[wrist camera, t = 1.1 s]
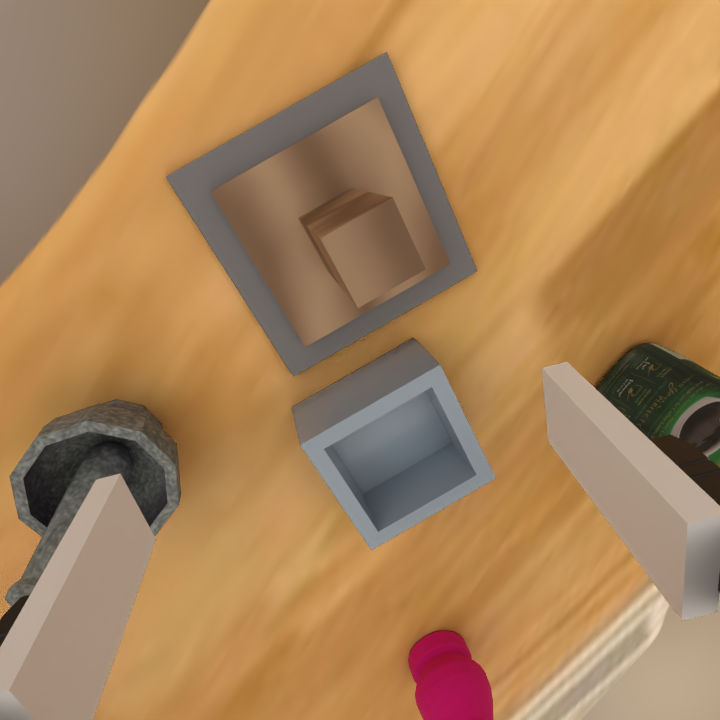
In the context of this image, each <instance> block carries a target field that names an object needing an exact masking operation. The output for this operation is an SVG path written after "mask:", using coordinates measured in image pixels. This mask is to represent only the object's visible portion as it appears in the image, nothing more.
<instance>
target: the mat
mask: <svg viewBox="0 0 720 720" xmlns="http://www.w3.org/2000/svg"><path fill="white" fill-rule="evenodd" d="M377 97H378V99H379V101H380V103H381V106H382V108H383V110H384V112H385V115H386V117H387V119H388V122H389V124H390V126H391V129H392V131H393V133H394V135H395V138H396V140H397V142H398V145H399V147H400V149H401V152H402V154H403V156H404V158H405V161H406V163H407V165H408V168H409V170H410V172H411V174H412V177H413V179H414V181H415V184H416V186H417V188H418V191H419V193H420V195H421V197H422V200H423V202H424V204H425V207H426V209H427V211H428V214H429V216H430V218H431V220H432V223H433V225H434V227H435V230H436V232H437V234H438V236H439V239H440V241H441V243H442V246H443V248H444V250H445V253H446V255H447V257H448V259H449V262H450V265H448V266H446V267H445V268H443V269H441V270H439V271H438V272H436V273H434V274H432V275H431V276H429V277H427V278H425V279H424V280H422V281H420V282H418V283H417V284H415V285H413V286H411V287H410V288H408V289H406V290H404V291H403V292H401V293H399V294H397V295H396V296H394V297H392V298H390V299H389V300H387V301H385V302H383V303H382V304H380V305H378V306H376V307H375V308H373V309H371V310H369V311H368V312H366V313H364V314H362V315H361V316H359V317H357V318H355V319H354V320H352V321H350V322H348V323H347V324H345V325H343V326H341V327H340V328H338V329H336V330H334V331H333V332H331V333H329V334H327V335H326V336H324V337H322V338H320V339H319V340H317V341H315V342H313V343H312V344H310V345H308V346H306V347H305V346H304V344H303V342H302V341H301V339H300V338H299V336H298V334H297V333H296V331H295V329H294V328H293V326H292V324H291V323H290V321H289V319H288V318H287V316H286V315H285V313H284V311H283V310H282V308H281V306H280V305H279V303H278V301H277V300H276V298H275V296H274V295H273V293H272V292H271V290H270V288H269V287H268V285H267V283H266V282H265V280H264V278H263V277H262V275H261V274H260V272H259V270H258V269H257V267H256V265H255V264H254V262H253V260H252V259H251V257H250V255H249V254H248V252H247V251H246V249H245V247H244V246H243V244H242V242H241V241H240V239H239V237H238V236H237V234H236V233H235V231H234V229H233V228H232V226H231V224H230V223H229V221H228V219H227V218H226V216H225V214H224V213H223V211H222V210H221V208H220V206H219V205H218V203H217V201H216V200H215V198H214V196H213V195H212V193H211V191H212V190H213V189H215V188H217V187H219V186H220V185H222V184H224V183H226V182H228V181H229V180H231V179H233V178H235V177H236V176H238V175H240V174H242V173H243V172H245V171H247V170H249V169H251V168H252V167H254V166H256V165H258V164H259V163H261V162H263V161H265V160H267V159H268V158H270V157H272V156H274V155H275V154H277V153H279V152H281V151H282V150H284V149H286V148H288V147H290V146H291V145H293V144H295V143H297V142H298V141H300V140H302V139H304V138H305V137H307V136H309V135H311V134H313V133H314V132H316V131H318V130H320V129H321V128H323V127H325V126H327V125H328V124H330V123H332V122H334V121H336V120H337V119H339V118H341V117H343V116H344V115H346V114H348V113H350V112H352V111H353V110H355V109H357V108H359V107H360V106H362V105H364V104H366V103H367V102H369V101H371V100H373V99H375V98H377ZM166 178H167V180H168V181H169V183H170V184H171V186H172V188H173V189H174V191H175V192H176V194H177V195H178V197H179V198H180V200H181V202H182V203H183V205H184V206H185V208H186V209H187V211H188V213H189V214H190V216H191V217H192V219H193V220H194V222H195V224H196V225H197V227H198V228H199V230H200V231H201V233H202V234H203V236H204V238H205V239H206V241H207V242H208V244H209V245H210V247H211V249H212V250H213V252H214V253H215V255H216V256H217V258H218V259H219V261H220V263H221V264H222V266H223V267H224V269H225V270H226V272H227V274H228V275H229V277H230V278H231V280H232V281H233V283H234V285H235V286H236V288H237V289H238V291H239V292H240V294H241V295H242V297H243V299H244V300H245V302H246V303H247V305H248V306H249V308H250V310H251V311H252V313H253V314H254V316H255V317H256V319H257V320H258V322H259V324H260V325H261V327H262V328H263V330H264V331H265V333H266V335H267V336H268V338H269V339H270V341H271V342H272V344H273V346H274V347H275V349H276V350H277V352H278V353H279V355H280V356H281V358H282V360H283V361H284V363H285V364H286V366H287V367H288V369H289V371H290V372H291V374H292V375H293V377H294V376H295V375H297V374H299V373H301V372H302V371H304V370H306V369H308V368H309V367H311V366H313V365H315V364H316V363H318V362H320V361H322V360H323V359H325V358H327V357H329V356H330V355H332V354H334V353H336V352H337V351H339V350H341V349H343V348H344V347H346V346H348V345H350V344H351V343H353V342H355V341H357V340H358V339H360V338H362V337H364V336H365V335H367V334H369V333H371V332H372V331H374V330H376V329H378V328H379V327H381V326H383V325H385V324H386V323H388V322H390V321H392V320H393V319H395V318H397V317H399V316H400V315H402V314H404V313H406V312H407V311H409V310H411V309H412V308H414V307H416V306H418V305H419V304H421V303H423V302H425V301H426V300H428V299H430V298H432V297H433V296H435V295H437V294H439V293H440V292H442V291H444V290H446V289H447V288H449V287H451V286H453V285H454V284H456V283H458V282H460V281H461V280H463V279H465V278H467V277H468V276H470V275H472V274H474V273H475V272H477V269H476V266H475V264H474V261H473V259H472V257H471V254H470V252H469V249H468V247H467V244H466V242H465V240H464V237H463V235H462V232H461V230H460V228H459V225H458V223H457V220H456V218H455V215H454V213H453V211H452V208H451V206H450V203H449V201H448V199H447V196H446V194H445V191H444V189H443V187H442V184H441V182H440V179H439V177H438V174H437V172H436V170H435V167H434V165H433V162H432V160H431V158H430V155H429V153H428V150H427V148H426V145H425V143H424V141H423V138H422V136H421V133H420V131H419V129H418V126H417V124H416V121H415V119H414V117H413V114H412V112H411V109H410V107H409V104H408V102H407V100H406V97H405V95H404V92H403V90H402V88H401V85H400V83H399V80H398V78H397V75H396V73H395V71H394V68H393V66H392V63H391V61H390V59H389V56H388V54H387V52H386V53H384V54H383V55H381V56H379V57H377V58H375V59H374V60H372V61H370V62H368V63H367V64H365V65H363V66H361V67H360V68H358V69H356V70H354V71H352V72H351V73H349V74H347V75H345V76H344V77H342V78H340V79H338V80H336V81H335V82H333V83H331V84H329V85H328V86H326V87H324V88H322V89H320V90H319V91H317V92H315V93H313V94H312V95H310V96H308V97H306V98H304V99H303V100H301V101H299V102H297V103H296V104H294V105H292V106H290V107H288V108H287V109H285V110H283V111H281V112H280V113H278V114H276V115H274V116H273V117H271V118H269V119H267V120H265V121H264V122H262V123H260V124H258V125H257V126H255V127H253V128H251V129H249V130H248V131H246V132H244V133H242V134H241V135H239V136H237V137H235V138H233V139H232V140H230V141H228V142H226V143H225V144H223V145H221V146H219V147H217V148H216V149H214V150H212V151H210V152H209V153H207V154H205V155H203V156H202V157H200V158H198V159H196V160H194V161H193V162H191V163H189V164H187V165H186V166H184V167H182V168H180V169H178V170H177V171H175V172H173V173H171V174H170V175H168V176H166Z"/></svg>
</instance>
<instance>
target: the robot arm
mask: <svg viewBox="0 0 720 720" xmlns="http://www.w3.org/2000/svg"><path fill="white" fill-rule="evenodd" d="M542 374H543V386H544V397H545V409H546V420H547V432H548V442H549V443H550V445H551V446H552V447H553V449H554V450H555V451H556V453H557V454H558V456H559V457H560V458H561V460H562V461H563V462H564V464H565V465H566V466H567V468H568V469H569V470H570V472H571V473H572V474H573V476H574V477H575V478H576V480H577V481H578V482H579V484H580V485H581V486H582V488H583V489H584V490H585V492H586V493H587V494H588V496H589V497H590V498H591V500H592V501H593V503H594V504H595V505H596V507H597V508H598V509H599V511H600V512H601V513H602V515H603V516H604V517H605V519H606V520H607V521H608V523H609V524H610V525H611V527H612V528H613V529H614V531H615V532H616V533H617V535H618V536H619V537H620V539H621V540H622V541H623V543H624V544H625V545H626V547H627V548H628V550H629V551H630V552H631V554H632V555H633V556H634V558H635V559H636V560H637V562H638V563H639V564H640V566H641V567H642V568H643V570H644V571H645V572H646V574H647V575H648V576H649V578H650V579H651V580H652V582H653V583H654V584H655V586H656V587H657V588H658V590H659V591H660V592H661V594H662V595H663V596H664V598H665V599H666V601H667V602H668V603H669V605H670V606H671V607H672V609H673V610H674V611H675V613H676V614H677V615H678V617H679V618H680V619H681V621H683V620H687V619H692V618H696V617H699V616H703V615H708V614H712V613H716V612H718V602H719V594H720V467H718V466H717V465H716V464H715V463H714V462H713V461H709V459H708V457H707V456H706V455H704V454H703V453H702V452H701V451H700V450H698V449H697V448H696V447H695V446H694V445H693V444H691V443H688V442H686V441H684V440H682V439H679V438H677V437H675V436H673V435H666V436H662V437H658V438H654V439H648V438H647V437H646V436H645V435H644V434H643V433H642V432H641V431H640V430H639V429H638V428H637V427H636V426H635V425H633V424H632V423H631V422H630V421H629V420H628V419H627V418H626V417H625V416H624V415H623V414H622V413H621V412H620V411H619V410H618V409H616V408H615V407H614V406H613V405H612V404H611V403H610V402H609V401H608V400H607V399H606V398H605V397H604V396H603V395H602V394H601V393H600V392H598V391H597V390H596V389H595V388H594V387H593V386H592V385H591V384H590V383H589V382H588V381H587V380H586V379H585V378H584V377H583V376H581V375H580V374H579V373H578V372H577V371H576V370H575V369H574V368H573V367H572V366H571V365H570V364H569V363H568V362H564V363H560V364H556V365H552V366H548V367H544V368H542ZM155 541H156V538H155V536H154V534H153V533H152V531H151V529H150V527H149V525H148V523H147V522H146V520H145V518H144V516H143V514H142V512H141V510H140V509H139V507H138V505H137V503H136V501H135V499H134V498H133V496H132V494H131V492H130V490H129V488H128V487H127V485H126V483H125V481H124V479H123V477H122V475H121V474H116V475H113V476H109V477H105V478H101V479H97V480H96V481H95V482H94V484H93V486H92V488H91V489H90V491H89V493H88V495H87V496H86V498H85V500H84V502H83V503H82V505H81V507H80V509H79V510H78V512H77V514H76V516H75V517H74V519H73V521H72V523H71V524H70V526H69V528H68V530H67V531H66V533H65V535H64V537H63V538H62V540H61V542H60V544H59V545H58V547H57V549H56V551H55V552H54V554H53V556H52V558H51V559H50V561H49V563H48V565H47V566H46V568H45V570H44V572H43V573H42V575H41V577H40V579H39V580H38V582H37V584H36V586H35V587H34V589H33V591H32V593H31V594H30V595H26V596H22V597H20V598H19V600H18V601H17V602H16V603H15V604H14V605H13V606H12V607H11V608H10V609H9V610H8V611H7V612H6V613H5V614H4V615H3V617H2V618H1V620H0V720H93V719H94V716H95V713H96V710H97V707H98V704H99V702H100V699H101V696H102V693H103V690H104V687H105V684H106V682H107V679H108V676H109V673H110V670H111V667H112V664H113V662H114V659H115V656H116V653H117V650H118V647H119V644H120V642H121V639H122V636H123V633H124V630H125V627H126V624H127V622H128V619H129V616H130V613H131V610H132V607H133V604H134V601H135V599H136V596H137V593H138V590H139V587H140V584H141V581H142V579H143V576H144V573H145V570H146V567H147V564H148V561H149V559H150V556H151V553H152V550H153V547H154V544H155Z"/></svg>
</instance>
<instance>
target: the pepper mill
mask: <svg viewBox="0 0 720 720" xmlns="http://www.w3.org/2000/svg"><path fill="white" fill-rule="evenodd" d="M408 663H409V667H410V670H411V673H412V676H413V679H414V681H415V682H416V684H417V686H416V692H415V697H416V703H417V706H418V709H419V711H420V713H421V716H422V717H423V719H424V720H493V698H492V693H491V687H490V684H489V681H488V679H487V676H486V673H485V672H484V670H483V669H482V667H481V666H480V665H479V664H478V663H476V662H475V661H474V660H472V659H471V654H470V652H469V649H468V647H467V645H466V643H465V641H464V639H463V638H462V637H461V636H460V635H459V634H457V633H455V632H452V631H438V632H434V633H431V634H429V635H427V636H425V637H423V638H422V639H421V640H420V641H418V642H417V643H416V644H415V646H414V647H413V648H412V650H411V652H410V655H409V659H408Z"/></svg>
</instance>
